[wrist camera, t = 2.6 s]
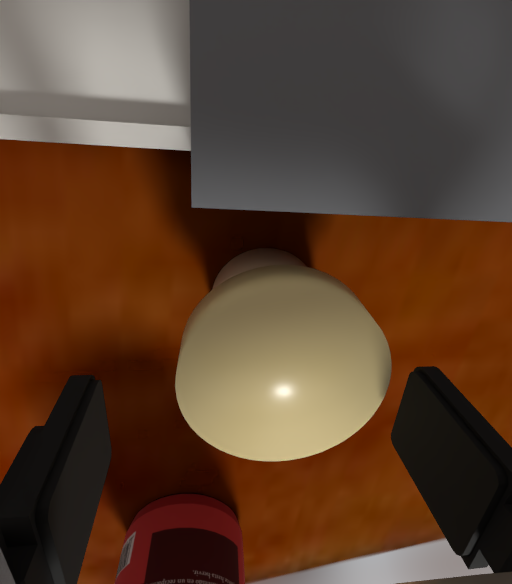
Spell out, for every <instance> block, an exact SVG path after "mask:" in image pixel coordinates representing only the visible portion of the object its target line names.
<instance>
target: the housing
mask: <svg viewBox="0 0 512 584" xmlns="http://www.w3.org/2000/svg"><path fill="white" fill-rule="evenodd" d="M189 7H190V104H191V200H192V208H214V209H236V210H258V211H280V212H302V213H324V214H346V215H368V216H390V217H412V218H433V219H455V220H477V221H499V222H512V0H189Z"/></svg>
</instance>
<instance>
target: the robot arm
mask: <svg viewBox="0 0 512 584" xmlns="http://www.w3.org/2000/svg"><path fill="white" fill-rule="evenodd" d="M391 440H392V444H393V446H394V448H395V449H396V451H397V453H398V455H399V456H400V458H401V460H402V462H403V463H404V465H405V467H406V469H407V470H408V472H409V474H410V476H411V477H412V479H413V481H414V483H415V484H416V486H417V488H418V490H419V492H420V493H421V495H422V497H423V499H424V500H425V502H426V504H427V506H428V507H429V509H430V511H431V513H432V514H433V516H434V518H435V520H436V521H437V523H438V525H439V527H440V528H441V530H442V532H443V534H444V535H445V537H446V539H447V541H448V542H449V544H450V546H451V548H452V549H453V551H454V552H455V553H456V554H457V555H459V556H461V557H462V559H463V561H464V562H465V564H466V566H467V568H468V569H474V568H483V567H487V566H488V564H489V566H490V567H491V569H492V570H493V572H494V573H492V574H481V575H471V576H462V577H453V578H444V579H434V580H426V581H416V582H407V583H397V584H512V448H511V447H510V445H509V444H508V443H507V442H506V441H505V440H504V439H503V438H502V437H501V436H500V435H499V433H498V432H497V431H496V430H495V429H494V428H493V427H492V426H491V425H490V424H489V423H488V422H487V420H486V419H485V418H484V417H483V416H482V415H481V414H480V413H479V412H478V411H477V410H476V409H475V407H474V406H473V405H472V404H471V403H470V402H469V401H468V400H467V399H466V398H465V397H464V395H463V394H462V393H461V392H460V391H459V390H458V389H457V388H456V387H455V386H454V385H453V384H452V382H451V381H450V380H449V379H448V378H447V377H446V376H445V375H444V374H443V373H442V372H441V371H440V369H438V368H437V367H434V366H432V367H416V368H415V369H414V372H411V373H410V375H409V377H408V381H407V384H406V387H405V390H404V394H403V397H402V400H401V403H400V407H399V410H398V413H397V416H396V420H395V423H394V426H393V429H392V433H391ZM110 460H111V442H110V435H109V428H108V421H107V415H106V408H105V401H104V394H103V387H102V382H101V380H95V377H94V376H93V375H75V376H70V378H69V379H68V381H67V383H66V385H65V387H64V389H63V391H62V393H61V395H60V397H59V399H58V401H57V403H56V404H55V406H54V408H53V410H52V412H51V414H50V416H49V418H48V420H47V422H46V424H45V426H35V427H34V428H33V429H32V430H31V431H30V433H29V434H28V436H27V438H26V439H25V441H24V443H23V445H22V447H21V448H20V450H19V452H18V454H17V456H16V457H15V459H14V461H13V463H12V465H11V466H10V468H9V470H8V472H7V474H6V475H5V477H4V479H3V481H2V483H1V484H0V584H77V581H78V577H79V573H80V570H81V566H82V562H83V559H84V555H85V552H86V548H87V544H88V541H89V537H90V533H91V530H92V526H93V522H94V519H95V515H96V511H97V508H98V504H99V501H100V497H101V493H102V490H103V486H104V482H105V479H106V475H107V471H108V468H109V464H110Z"/></svg>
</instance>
